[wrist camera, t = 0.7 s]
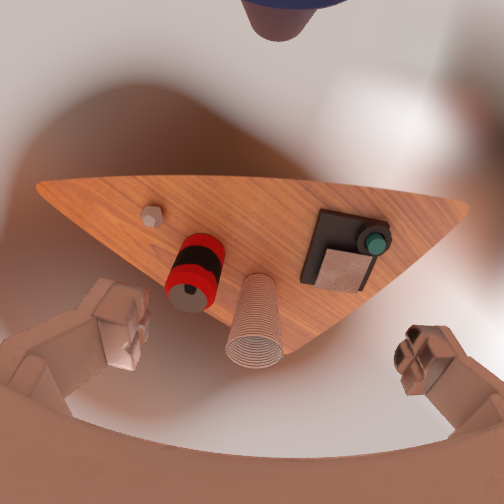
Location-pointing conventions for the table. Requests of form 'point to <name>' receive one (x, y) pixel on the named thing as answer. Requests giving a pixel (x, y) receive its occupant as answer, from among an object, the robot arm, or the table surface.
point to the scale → (342, 240)
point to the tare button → (375, 243)
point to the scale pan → (342, 270)
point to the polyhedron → (152, 216)
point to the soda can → (195, 274)
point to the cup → (256, 325)
